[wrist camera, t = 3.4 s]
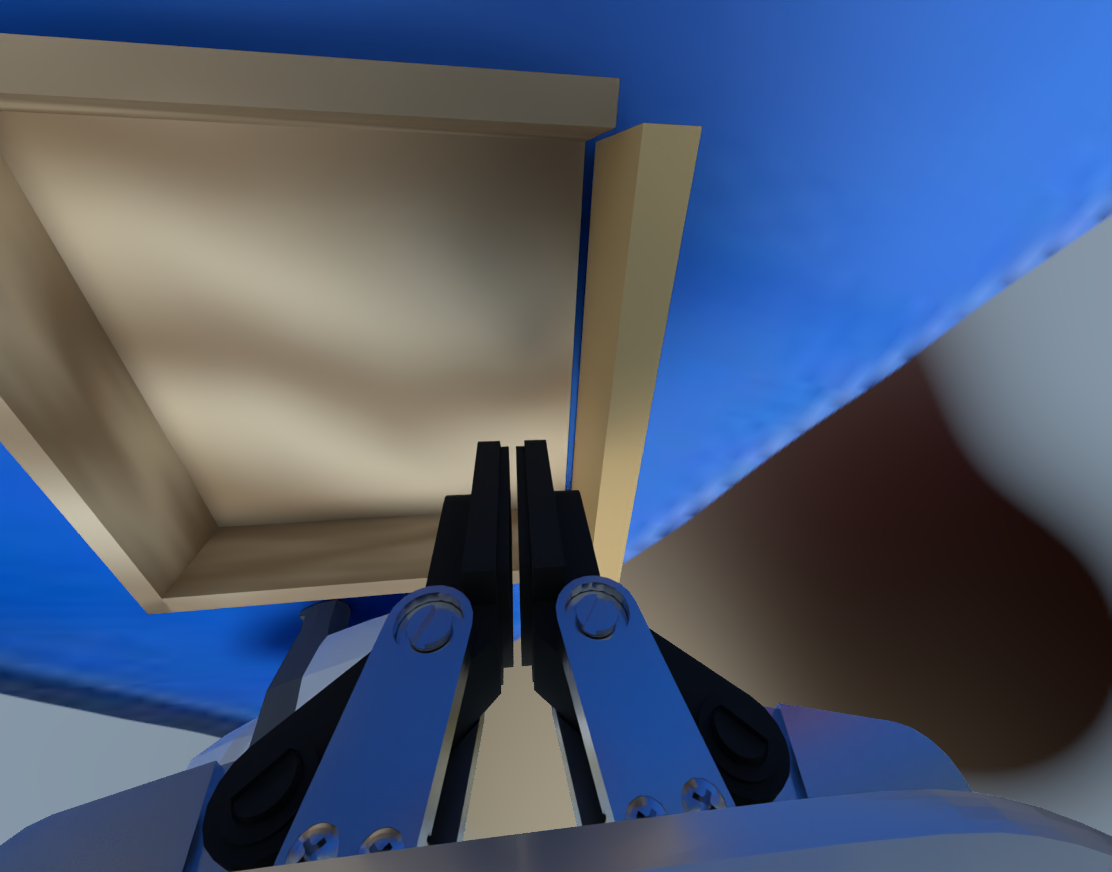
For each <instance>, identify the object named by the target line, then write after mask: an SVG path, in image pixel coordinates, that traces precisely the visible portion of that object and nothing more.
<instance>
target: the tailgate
mask: <svg viewBox="0 0 1112 872" xmlns="http://www.w3.org/2000/svg"><path fill="white" fill-rule="evenodd" d="M701 130H702V126H689V125H672V124H655V123H642V124H639V125H637V126H634V127H632V128H629V129H627V130H624V131H622V132H619V133H617V134H614V135H612V136H609V137H607V138H604V139H602V140H599V141H597V142H596V144H595V158H594V173H593V187H592V202H591V216H590V230H589V245H588V259H587V273H586V288H585V302H584V317H583V331H582V345H581V360H580V374H579V389H578V403H577V417H576V432H575V446H574V460H573V475H572V489H571V490H579V491H580V494H581V498H582V502H583V506H584V510H585V514H586V519H587V523H588V527H589V531H590V535H591V539H592V543H593V547H594V552H595V556H596V560H597V564H598V568H599V572H600V576H601V577H606V578H610V579H612V580H614V581H616V582H618V583H619V580H620V575H621V569H622V564H623V558H624V553H625V547H626V542H627V536H628V531H629V525H630V520H631V514H632V509H633V503H634V498H635V492H636V487H637V481H638V476H639V470H640V465H641V460H642V454H643V449H644V443H645V438H646V432H647V427H648V421H649V416H650V410H651V405H652V399H653V394H654V388H655V383H656V377H657V372H658V366H659V361H660V355H661V350H662V344H663V339H664V333H665V328H666V322H667V317H668V311H669V306H670V300H671V295H672V289H673V284H674V278H675V273H676V267H677V262H678V256H679V251H680V245H681V240H682V234H683V229H684V223H685V218H686V212H687V207H688V201H689V196H690V191H691V185H692V180H693V174H694V169H695V163H696V158H697V152H698V147H699V141H700V136H701Z"/></svg>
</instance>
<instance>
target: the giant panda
mask: <svg viewBox="0 0 1112 872" xmlns="http://www.w3.org/2000/svg"><path fill="white" fill-rule="evenodd" d="M411 593H412V592H411ZM409 594H410V593H408V595H409ZM350 615H351V610H350V608H349V606H348V604H346V603H344V602H342V601H339V600H337V599H336V600H331V601H326V602H321V603H318V604H316V605H313V606H311V607H308V608H306V609H305V610H303V611H301V614H300V618H301V619H302V621H303V624H302V628H301V631H300V633H299V634H298V636H297V638H296V640H295V641H294V643H293V645H292V646H291V648H290V650H289V652H288V654H287V655H286V657H285V659H284V661H283V663H282V664H281V666H280V668H279V670H278V672H277V673H276V675H275V677H274V679H273V681H272V682H271V684H270V686H269V688H268V690H267V692H266V695H265V698H264V702H263V705H262V708H261V711H260V714H259V717H257V718H255V719H254V720H252V721H250V722H248V723H247V724H245V725H243V726H241V727H239V728H238V729H236V730H234V731H232V732H231V733H229V734H227V735H226V736H224V737H223V738H221V739H220V740H219V741H217V742H216V743H214V744H213V745H212V746H210V747H209V748H207V749H206V750H204V751H203V752H202V753H200V754H199V755H198V756H196V757H195V758H193V759H192V760H191V761H190V763H189V765H188V768H187V770H189V769H192V768H195V767H198V766H201V765H204V764H207V763H210V762H213V761H217V762H218V763H219V764H220V765H224V764H227V763H230V762H233V761H236V760H237V759H238V758H239V757H240V756H241V755H242V754H243V753H244V752H245V751H246V750H247V749H248V748H250V747H251V746H252V745H253V744H254V743H256V742H257V741H258V740H259V739H261V738H262V737H263V736H264V735H266V734H267V733H268V732H270V731H271V730H272V729H273V728H275V727H276V726H277V725H278V724H280V723H281V722H282V721H283V720H285V719H286V718H287V717H288V716H290V715H291V714H292V713H294V712H295V711H296V710H297V709H299V708H300V707H301V706H302V705H304V704H305V703H306V702H307V701H309V700H310V699H311V698H313V697H314V696H315V695H316V694H318V693H319V692H320V691H321V690H323V689H324V688H325V687H326V686H328V685H329V684H330V683H332V682H333V681H334V680H335V679H337V678H338V677H339V676H340V675H342V674H343V673H344V672H345V671H347V670H348V669H349V668H351V667H352V666H353V665H354V664H356V663H357V662H358V661H359V660H361V659H362V658H363V657H364V656H366V655H367V654H368V653H369V652H371V651H372V648H373V646H374V644H375V642H376V640H377V638H378V635H379V633H380V631H381V629H382V627H383V624H384V622H385V620H386V618H387V616H388V615H389V614H387V615H383V616H380V617H377V618H374V619H371V620H368V621H365V622H363V623H360V624H357V625H355V626H352V627H349V628H347V627H348V623H349V619H350Z"/></svg>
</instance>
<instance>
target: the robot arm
mask: <svg viewBox="0 0 1112 872" xmlns="http://www.w3.org/2000/svg"><path fill="white" fill-rule="evenodd" d="M516 469H517V508H518V546H519V581H520V617H521V651H522V652H521V653H522V666H529V665H532V677H533V682H534V690H535V691H536V692H537V693H538V694H539V695H540V696H541V697H542V698H544V699H545V700H546V701H547V702H548V703H549V704H550V705H551V706H552V715H553V719H554V724H555V728H556V733H557V737H558V742H559V746H560V751H561V755H562V760H563V764H564V769H565V773H566V778H567V782H568V787H569V791H570V796H571V800H572V805H573V809H574V814H575V818H576V823H577V827H570V828H563V829H554V830H547V831H539V832H531V833H523V834H515V835H508V836H501V837H492V838H485V839H477V840H469V841H463V836H464V831H465V824H466V819H467V813H468V808H469V802H470V797H471V791H472V786H473V781H474V775H475V769H476V764H477V758H478V752H479V747H480V742H481V736H482V729H483V724H484V715H485V711H486V710H487V708H488V707H489V706H490V705H491V704H492V703H493V702H494V700H495V699H496V698H497V697H498V696H499V695H500V694H501V685H503V668H506V667H513V570H512V516H511V489H510V462H509V446H505V447H501V444H500V441H478V444H477V451H476V459H475V467H474V475H473V483H472V491H471V494H466V495H446V497H445V499H444V502H443V507H442V512H441V516H440V521H439V526H438V531H437V535H436V540H435V545H434V549H433V554H432V559H431V563H430V568H429V573H428V577H427V582H426V587H425V588H421V589H418V590H415V591H414V592H412V593H410V594H409V595H407V596H405V597H404V598H403V599H402V600H400V601H399V602H398V603H397V604H396V605H395V606H394V607H393V609H392V610H391V612H390V613H389V615H388V616H387V618H386V620H385V622H384V624H383V627H382V629H381V631H380V633H379V635H378V638H377V640H376V642H375V644H374V646H373V648H372V651H371V652H369V653H368V654H367V655H366V656H364V657H363V658H362V659H361V660H359V661H358V662H357V663H356V664H354V665H353V666H352V667H351V668H349V669H348V670H347V671H345V672H344V673H343V674H342V675H340V676H339V677H338V678H337V679H335V680H334V681H333V682H332V683H330V684H329V685H328V686H326V687H325V688H324V689H323V690H321V691H320V692H319V693H318V694H316V695H315V696H314V697H313V698H311V699H310V700H309V701H307V702H306V703H305V704H304V705H302V706H301V707H300V708H299V709H297V710H296V711H295V712H294V713H292V714H291V715H290V716H288V717H287V718H286V719H285V720H283V721H282V722H281V723H280V724H278V725H277V726H276V727H275V728H273V729H272V730H271V731H270V732H268V733H267V734H266V735H264V736H263V737H262V738H261V739H259V740H258V741H257V742H256V743H254V744H253V745H252V746H251V747H250V748H248V749H247V750H246V751H245V752H244V753H243V754H242V755H241V756H240V757H239V758H238V759H237V760H236V761H233V762H230V763H227V764H224V765H220V764H219V763H218V762H217V761H213V762H210V763H207V764H204V765H201V766H198V767H195V768H192V769H189V770H186V771H182V772H180V773H177V774H174V775H171V776H167V777H165V778H161V779H158V780H155V781H152V782H149V783H147V784H143V785H141V786H137V787H134V788H131V789H128V790H125V791H122V792H119V793H116V794H113V795H110V796H107V797H104V798H101V799H98V800H95V801H92V802H89V803H86V804H83V805H80V806H77V807H74V808H71V809H68V810H65V811H62V812H59V813H56V814H53V815H51V816H49V817H46V818H44V819H42V820H40V821H38V822H36V823H34V824H32V825H30V826H27V827H26V828H24V829H23V830H21V831H20V832H19V833H17V834H16V835H14V836H13V837H12V838H10V839H9V840H7V841H6V842H5V843H3V844H2V845H0V872H1112V836H1110V835H1107V834H1105V833H1103V832H1101V831H1099V830H1097V829H1094V828H1092V827H1090V826H1088V825H1085V824H1083V823H1081V822H1078V821H1076V820H1073V819H1070V818H1068V817H1065V816H1062V815H1060V814H1057V813H1054V812H1052V811H1049V810H1046V809H1043V808H1041V807H1037V806H1033V805H1029V804H1026V803H1022V802H1018V801H1015V800H1011V799H1007V798H1004V797H998V796H992V795H987V794H982V793H976V792H972V791H971V789H970V787H969V786H968V784H967V782H966V780H965V779H964V777H963V775H962V774H961V773H960V771H959V770H958V769H957V767H956V766H955V765H954V764H953V762H952V761H951V759H950V758H949V757H948V756H947V755H946V754H945V753H944V752H943V751H942V750H941V749H940V748H939V747H938V746H936V744H934V743H933V742H932V741H931V740H930V739H929V738H927V737H925V736H924V735H922V734H921V733H919V732H917V731H916V730H914V729H913V728H911V727H908V726H905V725H902V724H899V723H896V722H892V721H886V720H879V719H873V718H867V717H861V716H854V715H849V714H842V713H836V712H830V711H824V710H818V709H811V708H805V707H799V706H793V705H786V704H780V703H779V704H778V705H777V707H776V708H769V707H764V706H762V705H761V704H760V703H758V702H757V701H756V700H755V699H753V698H752V697H751V696H750V695H748V694H747V693H745V692H744V691H742V690H741V689H739V688H737V687H736V686H735V685H733V684H731V683H730V682H729V681H727V680H726V679H724V678H723V677H721V676H720V675H718V674H717V673H715V672H714V671H712V670H711V669H709V668H708V667H706V666H705V665H703V664H702V663H700V662H699V661H697V660H696V659H694V658H693V657H691V656H690V655H688V654H687V653H685V652H684V651H682V650H681V649H679V648H678V647H676V646H675V645H673V644H672V643H670V642H669V641H667V640H666V639H664V638H663V637H661V636H660V635H658V634H657V633H655V632H654V631H652V630H651V629H649V627H648V625H647V623H646V621H645V619H644V617H643V615H642V613H641V611H640V609H639V607H638V605H637V603H636V601H635V600H634V598H633V597H632V595H631V594H630V592H629V591H628V590H627V589H626V588H624V587H623V586H622V585H621V584H620V583H618V582H616V581H614V580H612V579H610V578H606V577H601V576H600V572H599V568H598V564H597V560H596V556H595V552H594V547H593V543H592V539H591V535H590V531H589V527H588V523H587V519H586V514H585V510H584V506H583V502H582V498H581V494H580V491H579V490H564V491H554V488H553V482H552V475H551V469H550V462H549V456H548V449H547V443H546V440H524V446H516Z"/></svg>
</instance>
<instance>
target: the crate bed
mask: <svg viewBox="0 0 1112 872" xmlns="http://www.w3.org/2000/svg"><path fill="white" fill-rule="evenodd" d="M619 84H620V78H611V77H597V76H584V75H570V74H556V73H542V72H529V71H515V70H501V69H487V68H474V67H460V66H446V65H432V64H419V63H405V62H391V61H377V60H363V59H350V58H336V57H322V56H308V55H295V54H281V53H267V52H253V51H240V50H226V49H212V48H198V47H185V46H171V45H157V44H143V43H130V42H116V41H102V40H88V39H74V38H61V37H47V36H33V35H19V34H6V33H0V442H1V443H2V444H3V445H4V446H5V447H6V449H7V450H8V451H9V452H10V453H11V454H12V456H13V457H14V458H15V459H16V460H17V461H18V463H19V464H20V465H21V466H22V467H23V468H24V470H25V471H26V472H27V473H28V474H29V475H30V477H31V478H32V479H33V480H34V481H35V483H36V484H37V485H38V486H39V487H40V488H41V490H42V491H43V492H44V493H45V494H46V495H47V497H48V498H49V499H50V500H51V501H52V502H53V504H54V505H55V506H56V507H57V508H58V509H59V511H60V512H61V513H62V514H63V515H64V516H65V518H66V519H67V520H68V521H69V522H70V523H71V525H72V526H73V527H74V528H75V529H76V530H77V532H78V533H79V534H80V535H81V536H82V537H83V539H84V540H85V541H86V542H87V543H88V544H89V546H90V547H91V548H92V549H93V550H94V551H95V553H96V554H97V555H98V556H99V557H100V559H101V560H102V561H103V562H104V563H105V564H106V566H107V567H108V568H109V569H110V570H111V571H112V573H113V574H114V575H115V576H116V577H117V578H118V580H119V581H120V582H121V583H122V584H123V585H124V587H125V588H126V589H127V590H128V591H129V592H130V594H131V595H132V596H133V597H134V598H135V599H136V601H137V602H138V603H139V604H140V605H141V606H142V608H143V609H144V610H145V611H146V612H147V613H148V614H157V613H169V612H181V611H194V610H206V609H218V608H230V607H242V606H254V605H266V604H278V603H290V602H302V601H314V600H326V599H338V598H351V597H363V596H375V595H387V594H399V593H411V592H414V591H415V590H418V589H421V588H425V587H426V582H427V577H428V573H429V568H430V563H431V559H432V554H433V549H434V545H435V540H436V535H437V531H438V526H439V521H440V516H441V512H442V507H443V502H444V499H445V497H446V495H466V494H471V491H472V483H473V475H474V467H475V459H476V451H477V444H478V441H500V444H501V447H505V446H509V462H510V489H511V516H512V570H513V584H520V581H519V546H518V508H517V469H516V446H524V440H546V443H547V449H548V456H549V462H550V469H551V475H552V482H553V488H554V491H564V490H565V483H566V465H567V448H568V431H569V414H570V397H571V380H572V363H573V345H574V328H575V311H576V294H577V277H578V260H579V243H580V226H581V208H582V191H583V174H584V157H585V141H588V140H590V139H592V138H594V137H596V136H599V135H601V134H603V133H605V132H607V131H610V130H612V129H614V128H616V118H617V106H618V95H619Z"/></svg>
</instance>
